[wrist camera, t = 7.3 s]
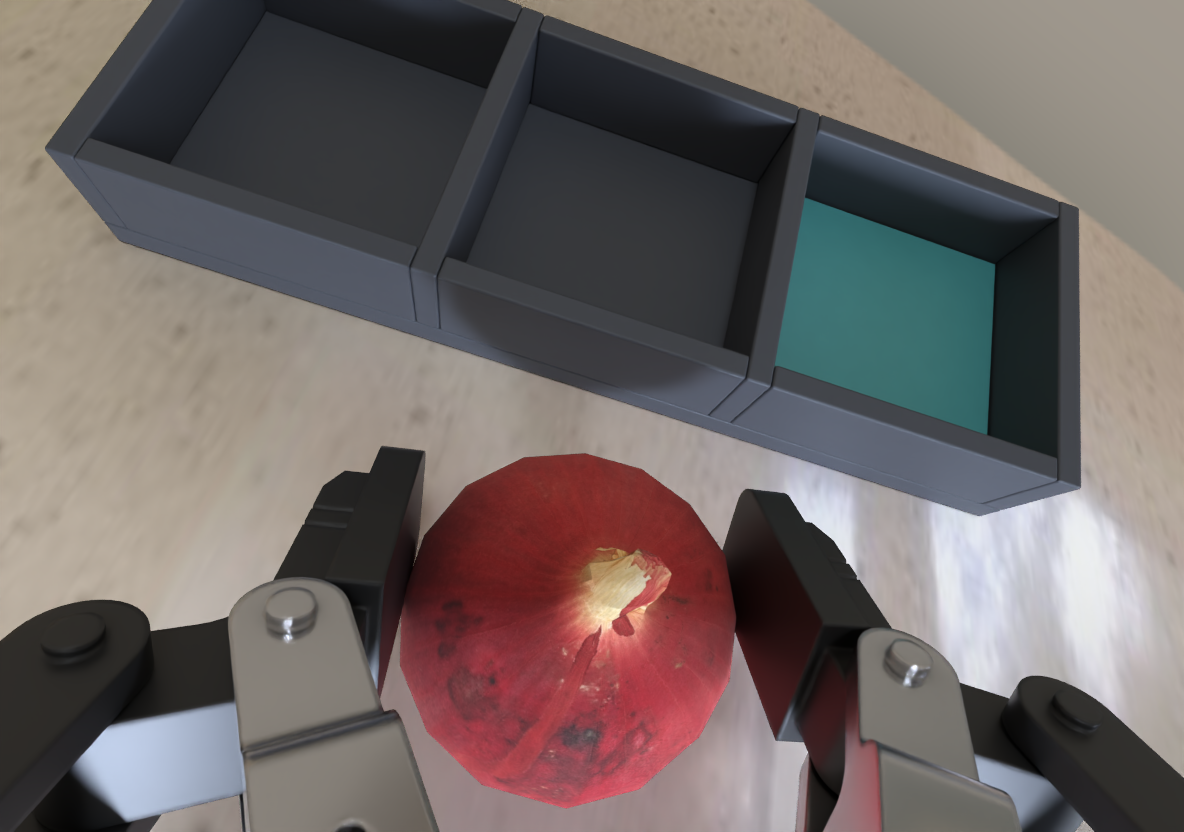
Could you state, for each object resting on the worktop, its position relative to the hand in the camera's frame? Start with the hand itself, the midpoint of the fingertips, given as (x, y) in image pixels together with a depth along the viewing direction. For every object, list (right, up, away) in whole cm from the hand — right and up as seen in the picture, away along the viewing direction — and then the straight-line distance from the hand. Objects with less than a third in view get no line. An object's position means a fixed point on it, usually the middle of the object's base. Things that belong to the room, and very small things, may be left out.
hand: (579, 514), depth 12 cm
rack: (+1, +6, +7) cm, 9 cm away
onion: (-1, -3, +4) cm, 5 cm away
